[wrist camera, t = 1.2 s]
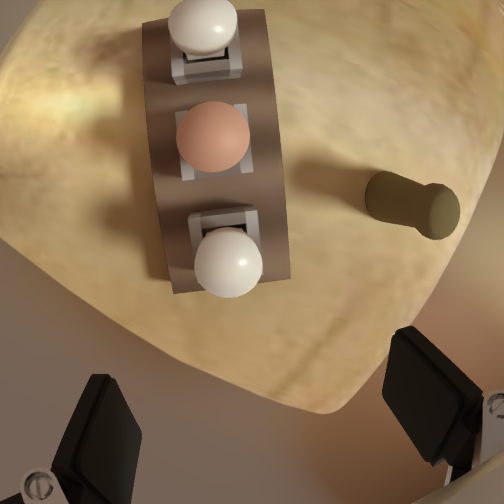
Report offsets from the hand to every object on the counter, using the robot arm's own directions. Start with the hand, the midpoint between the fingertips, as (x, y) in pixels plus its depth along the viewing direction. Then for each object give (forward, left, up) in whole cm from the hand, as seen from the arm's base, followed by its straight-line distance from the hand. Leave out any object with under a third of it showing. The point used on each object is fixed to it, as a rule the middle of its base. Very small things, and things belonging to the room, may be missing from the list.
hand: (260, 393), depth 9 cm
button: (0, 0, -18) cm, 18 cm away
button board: (-9, -1, -24) cm, 25 cm away
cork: (-2, +19, -24) cm, 30 cm away
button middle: (-9, -1, -18) cm, 20 cm away
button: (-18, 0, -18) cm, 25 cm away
